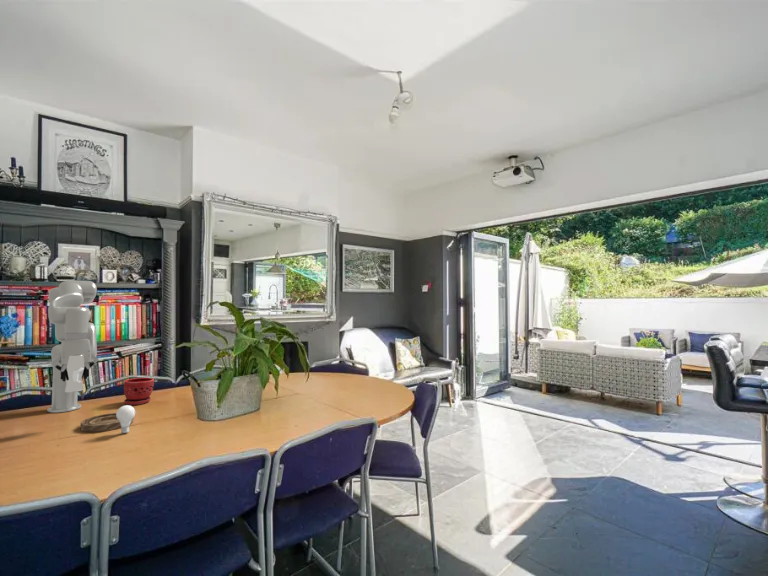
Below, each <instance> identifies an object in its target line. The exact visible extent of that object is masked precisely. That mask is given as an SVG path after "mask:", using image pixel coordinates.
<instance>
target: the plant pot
mask: <svg viewBox="0 0 768 576" xmlns="http://www.w3.org/2000/svg"><path fill="white" fill-rule="evenodd" d="M154 385H155V379H154V378H151V377H136V378H129V379H125V380H124V381H123V394H124V397H125V398H126V399H124V400H123V401H124V403H125V404H126V405H130V406H132V405H133V406H136V405H143V404H146V403H149V401H151V399H152V398H151V397H150V396H151V395H152V393H153V390H154Z"/></svg>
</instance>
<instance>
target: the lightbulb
mask: <svg viewBox="0 0 768 576" xmlns="http://www.w3.org/2000/svg"><path fill="white" fill-rule="evenodd" d="M115 413H116V417H117V419H118V420H119V422H120V424H121V428H120V429H121V430H120V431H121V432H120V433H122V434H127V433H129V432H130V425H131V424H130V423H131V420H132V419H133V417H134V418H135V415H136V409H135V408H134V407H133V406H132V405H129V404H126V405H122V406H120V407H119V408H118V409H117V411H116V412H115ZM133 420H134V419H133Z"/></svg>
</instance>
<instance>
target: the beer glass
mask: <svg viewBox="0 0 768 576" xmlns="http://www.w3.org/2000/svg"><path fill="white" fill-rule="evenodd" d="M85 367H86V366H85V361H84V355H75V356H69V360H68V364H67V365H66V369H65V372H66V381H67V384H66V389H65V392H77V391H78V392H81V391H83V390H85V389H84V384H83V382H84V381H83V380H84V372H85Z"/></svg>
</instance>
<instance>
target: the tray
mask: <svg viewBox="0 0 768 576" xmlns="http://www.w3.org/2000/svg"><path fill="white" fill-rule="evenodd" d="M116 413H117V412H112V413H110V412H109V413H105V414H104V413H103V414H98V415H94V416H91V417H88V418H85V419H84V420H82V421H81V422H80V431H82V432H85V433H102V432H109V431H115V430H119V429H121V424H120V422H119V420H118V419H117V417H116ZM134 419H135V416H134V417H133V419H132V420H131V423H130V425H132V424H133V423H134Z"/></svg>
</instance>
